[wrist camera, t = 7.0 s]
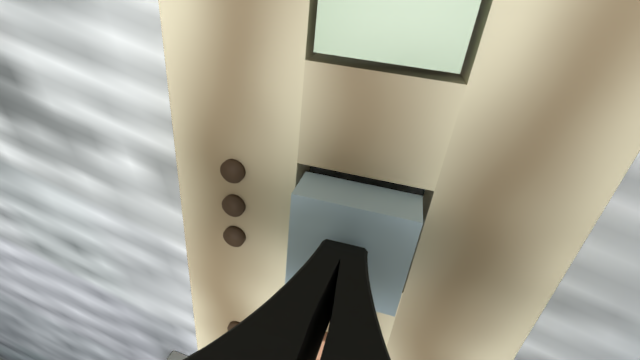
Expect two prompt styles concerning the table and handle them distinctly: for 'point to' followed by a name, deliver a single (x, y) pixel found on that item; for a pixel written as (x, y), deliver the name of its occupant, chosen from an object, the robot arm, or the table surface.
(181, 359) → the lighter
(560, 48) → the button panel
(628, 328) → the table surface
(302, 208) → the pale blue square block
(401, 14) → the one dot button
